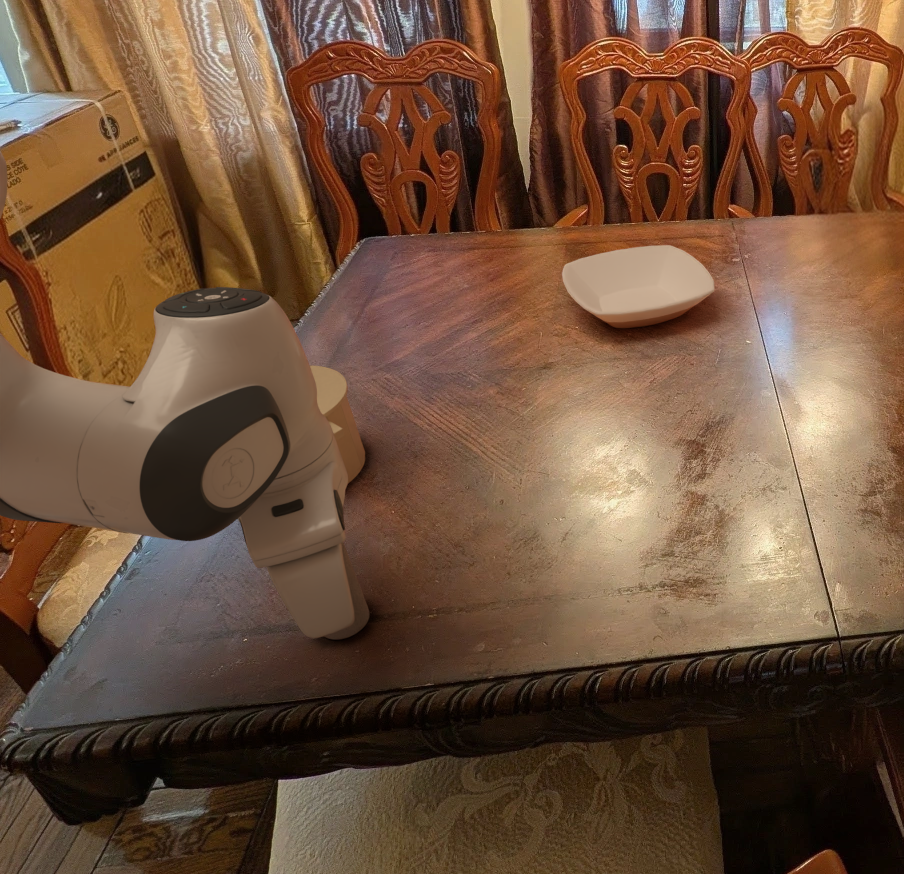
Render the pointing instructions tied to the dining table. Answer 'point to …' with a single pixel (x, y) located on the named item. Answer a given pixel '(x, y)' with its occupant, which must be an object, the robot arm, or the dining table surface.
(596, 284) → the bowl
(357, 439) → the pot
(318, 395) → the pot lid
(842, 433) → the dining table surface
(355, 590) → the planter
